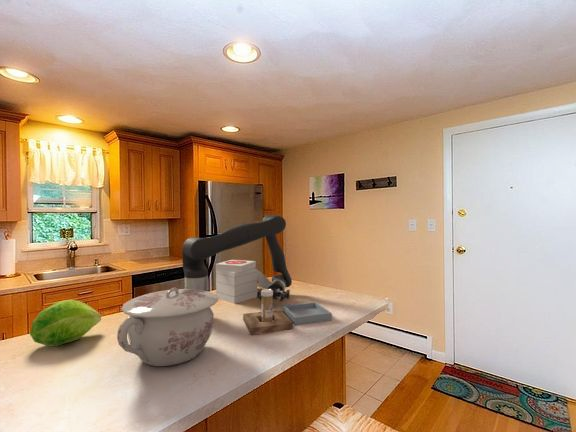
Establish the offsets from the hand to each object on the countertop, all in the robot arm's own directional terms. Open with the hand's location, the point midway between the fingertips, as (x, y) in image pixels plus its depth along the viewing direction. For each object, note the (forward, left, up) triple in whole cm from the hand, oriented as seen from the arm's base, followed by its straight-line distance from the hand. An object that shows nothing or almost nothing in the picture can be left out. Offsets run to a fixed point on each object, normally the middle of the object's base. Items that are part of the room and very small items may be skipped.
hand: (271, 298), depth 126 cm
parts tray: (+14, -5, -8) cm, 17 cm away
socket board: (-4, -9, -8) cm, 12 cm away
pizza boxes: (-5, +36, -8) cm, 37 cm away
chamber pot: (-38, -24, -8) cm, 45 cm away
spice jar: (-4, -9, -8) cm, 12 cm away
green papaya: (-72, -2, -8) cm, 72 cm away
